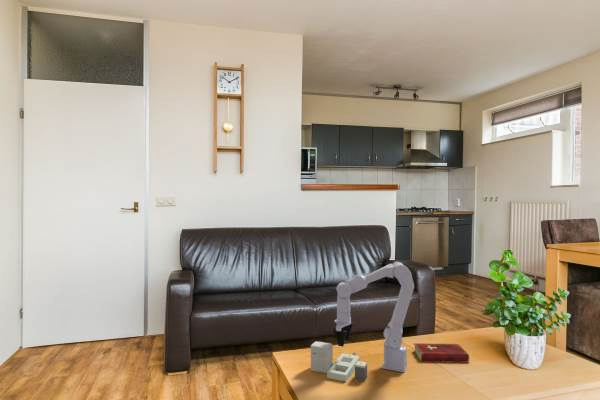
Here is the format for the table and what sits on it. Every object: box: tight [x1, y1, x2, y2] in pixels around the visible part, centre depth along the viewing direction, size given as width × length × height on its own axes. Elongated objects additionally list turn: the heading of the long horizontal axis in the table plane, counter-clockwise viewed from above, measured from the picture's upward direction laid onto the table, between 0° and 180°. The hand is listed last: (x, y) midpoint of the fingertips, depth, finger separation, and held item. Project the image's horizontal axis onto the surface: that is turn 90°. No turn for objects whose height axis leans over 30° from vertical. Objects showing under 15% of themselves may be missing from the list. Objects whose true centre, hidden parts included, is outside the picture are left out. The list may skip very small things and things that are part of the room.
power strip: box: [326, 352, 361, 383], centre depth 163 cm, size 8×27×3 cm, turn 156°
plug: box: [354, 360, 368, 382], centre depth 152 cm, size 4×4×6 cm
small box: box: [310, 341, 334, 374], centre depth 160 cm, size 8×6×10 cm
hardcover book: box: [413, 342, 470, 362], centre depth 174 cm, size 12×21×4 cm, turn 88°
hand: (343, 342), depth 164 cm, fingers open, 7 cm apart
